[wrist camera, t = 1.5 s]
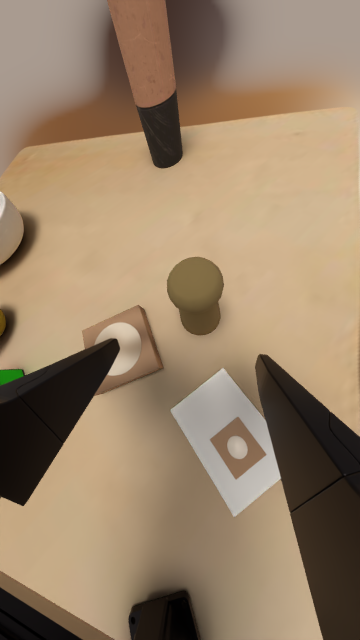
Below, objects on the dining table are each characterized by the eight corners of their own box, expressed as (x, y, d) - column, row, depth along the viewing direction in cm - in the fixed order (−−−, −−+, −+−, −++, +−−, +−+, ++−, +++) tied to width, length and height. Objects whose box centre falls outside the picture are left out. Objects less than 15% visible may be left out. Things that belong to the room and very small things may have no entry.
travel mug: (169, 172, 33) (118, -82, 14) (146, 164, 35) (74, -62, 17) (190, 150, 34) (167, -118, 15) (165, 144, 36) (119, -94, 17)
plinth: (163, 367, 21) (158, 368, 19) (102, 393, 22) (92, 396, 20) (143, 309, 25) (138, 304, 23) (91, 333, 25) (81, 330, 23)
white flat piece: (298, 461, 16) (300, 463, 16) (233, 515, 16) (234, 519, 15) (222, 367, 20) (223, 367, 19) (170, 409, 20) (169, 410, 19)
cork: (174, 309, 24) (147, 268, 13) (206, 291, 23) (205, 233, 13) (192, 342, 22) (177, 324, 11) (228, 322, 21) (247, 284, 11)
